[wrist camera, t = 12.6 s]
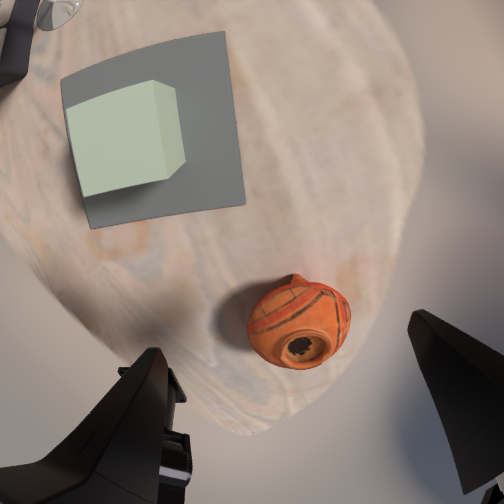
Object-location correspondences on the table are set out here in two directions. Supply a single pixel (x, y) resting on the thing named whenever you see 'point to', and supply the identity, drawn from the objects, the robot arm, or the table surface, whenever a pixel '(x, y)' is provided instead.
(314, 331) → the pot
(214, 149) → the charcoal mat
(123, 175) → the sage block
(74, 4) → the wineglass
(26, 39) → the calculator
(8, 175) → the table surface
